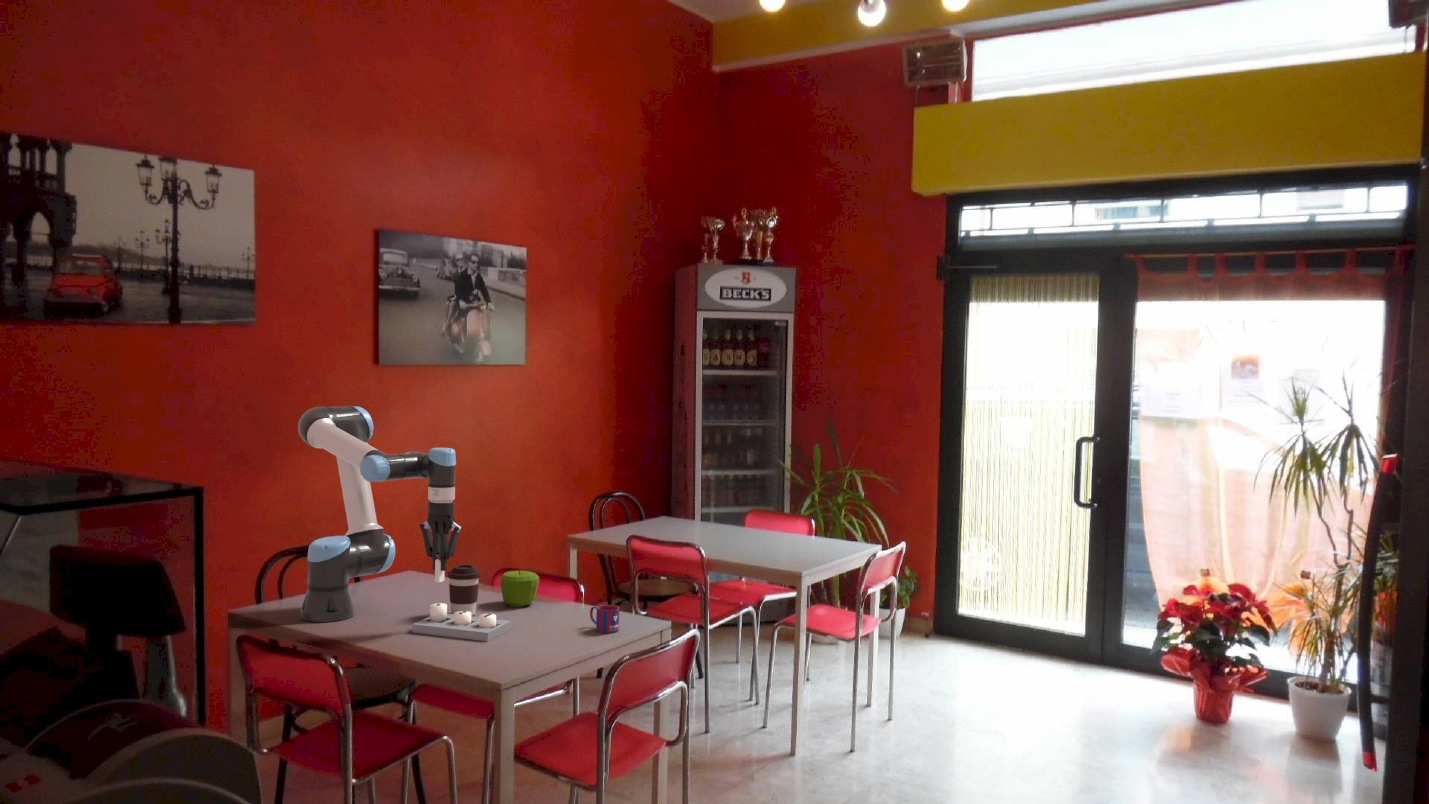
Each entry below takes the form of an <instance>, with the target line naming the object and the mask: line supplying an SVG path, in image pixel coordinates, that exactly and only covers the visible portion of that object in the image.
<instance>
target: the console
mask: <svg viewBox="0 0 1429 804" xmlns="http://www.w3.org/2000/svg"><path fill="white" fill-rule="evenodd" d="M510 630H512V620H507V619H506V620H505V619H497V618H496V627H494V628H492V629H489V628H480V627H479V616H471V624H469V625H467V626H463V625H454V614H451V613H447V620H446V621H444V622H431V621H430V616H428V617H426V618H424V619H422V620H420V621H417V622H415V623H413V624H412V633H414V634H421V635H422V634H424V635H430V636H431V635H432V636H440V637H447V638H448V637H449V638H450V637H451V638H455V639H464V640H465V639H467V640H473V641H481V642H489V641H491V640H493V639H495V638H497V637H499V636H501V635H503V634H505V633H507V632H508V631H510Z"/></svg>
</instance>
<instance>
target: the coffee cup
mask: <svg viewBox="0 0 1429 804" xmlns="http://www.w3.org/2000/svg"><path fill="white" fill-rule="evenodd" d="M481 574H482V571H481V570H479V569H478V568H477V566H476V565H473V564H457V565H454V566H453V567H452V568H451V570H448V571H447V578H448V579H449V583H448V588H449V602H450V614H454V613H455V612H458V611H469V612H471V616H472V617H474V615H476V611H477V610H476V609H477V602H478V598H479V597H478V596H479V587H480V586H479V585H480V582H479V578H481V576H482V575H481Z"/></svg>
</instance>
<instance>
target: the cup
mask: <svg viewBox="0 0 1429 804" xmlns="http://www.w3.org/2000/svg"><path fill="white" fill-rule="evenodd" d="M594 609H596V613H595V614H596V617H595V618H594V615H593V614H594V613H593V612H594ZM589 617H590V620H591V622H592V623H593V624H594V625H595V630H596V632H597V633H600V634H615V633H618V632H619V631H620V630H619V629H620V607H619V606H618V605H613V604H602V605H599V606H591V608H590V611H589Z"/></svg>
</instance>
